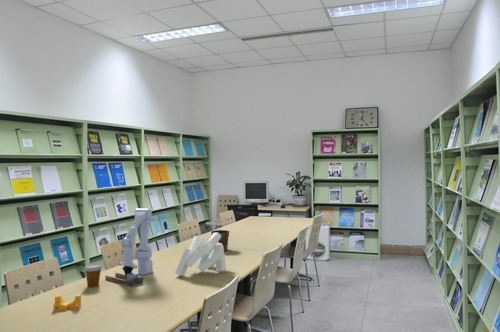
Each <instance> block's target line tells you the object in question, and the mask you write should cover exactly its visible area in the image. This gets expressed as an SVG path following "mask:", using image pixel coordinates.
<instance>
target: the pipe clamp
mask: <svg viewBox="0 0 500 332" xmlns="http://www.w3.org/2000/svg"><path fill="white" fill-rule="evenodd" d="M81 307H82V293H81V294H79V293H78V294H76V295H75V297H74V300H73V301H70V302H68V301H65V300H63V298H62V295H61V294H56V295H55V296H54V303H53V311H67V310H68V309H80V308H81Z"/></svg>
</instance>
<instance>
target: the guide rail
mask: <svg viewBox="0 0 500 332" xmlns="http://www.w3.org/2000/svg"><path fill="white" fill-rule="evenodd" d="M114 275H115V277H114V276H110V275H105V276H104V277H105V280H106V281H109V282H113V283H116V284H121V285H123V286H129V287H135V286H138V285H141V284H143V283H144V275H140V276H138V277H137V278H133V279H130V281H127V278H126V276H125V273H122V272H121V273H120V272H115V274H114Z"/></svg>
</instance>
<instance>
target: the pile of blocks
mask: <svg viewBox="0 0 500 332" xmlns="http://www.w3.org/2000/svg"><path fill="white" fill-rule="evenodd" d="M220 238H221V235H220V234H219V233H218V232H216V233H213V234H211V236H210V238H209V239H208V238H207V237H206V236H205V235H203V236H202V237H201V236H198V235H194V237H193V240H192V242H191V243H190V246H189V248H188V247H185V248H184V251H183V252H182V253H183V254H182V255H181V257H180V260H179V263H178V265H177V268H176V269H175V273H174V274H175V275H178V276H181V277H184V276H185V275H186V272H187V270H188V267H189V268H191V267H193V265H195V264H196V263H197V265H196V267H197V268H198V270H199V271H200V272H201V273H203V272H205V271H206V270H207V269H208V268H214V267H215V271H216V273H222V272H226V271H227V268H226V267H227V266H226V259H225V251H224V248H223V245H222V244H221V243H218V241H219V240H220ZM197 261H198V262H197Z"/></svg>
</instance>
